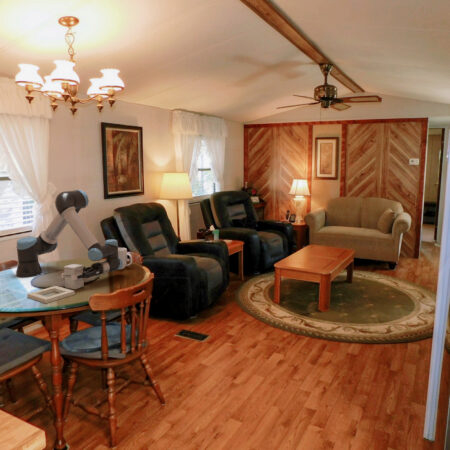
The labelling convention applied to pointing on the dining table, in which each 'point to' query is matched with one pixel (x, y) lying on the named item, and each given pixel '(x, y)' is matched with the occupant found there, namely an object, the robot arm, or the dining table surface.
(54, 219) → the robot arm
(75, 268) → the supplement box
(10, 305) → the dining table surface
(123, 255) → the mug
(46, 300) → the hole board
